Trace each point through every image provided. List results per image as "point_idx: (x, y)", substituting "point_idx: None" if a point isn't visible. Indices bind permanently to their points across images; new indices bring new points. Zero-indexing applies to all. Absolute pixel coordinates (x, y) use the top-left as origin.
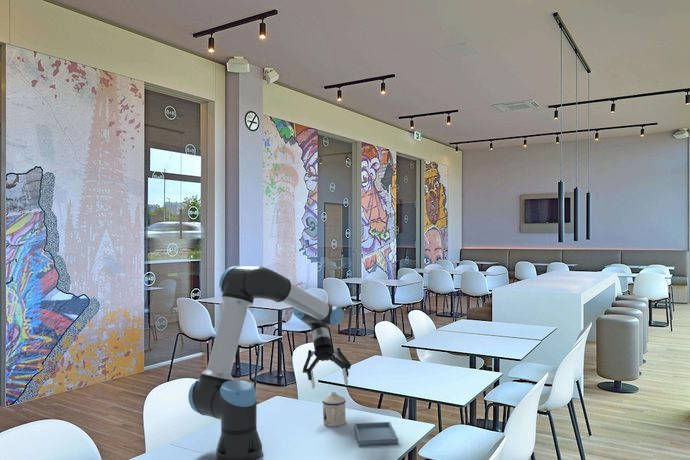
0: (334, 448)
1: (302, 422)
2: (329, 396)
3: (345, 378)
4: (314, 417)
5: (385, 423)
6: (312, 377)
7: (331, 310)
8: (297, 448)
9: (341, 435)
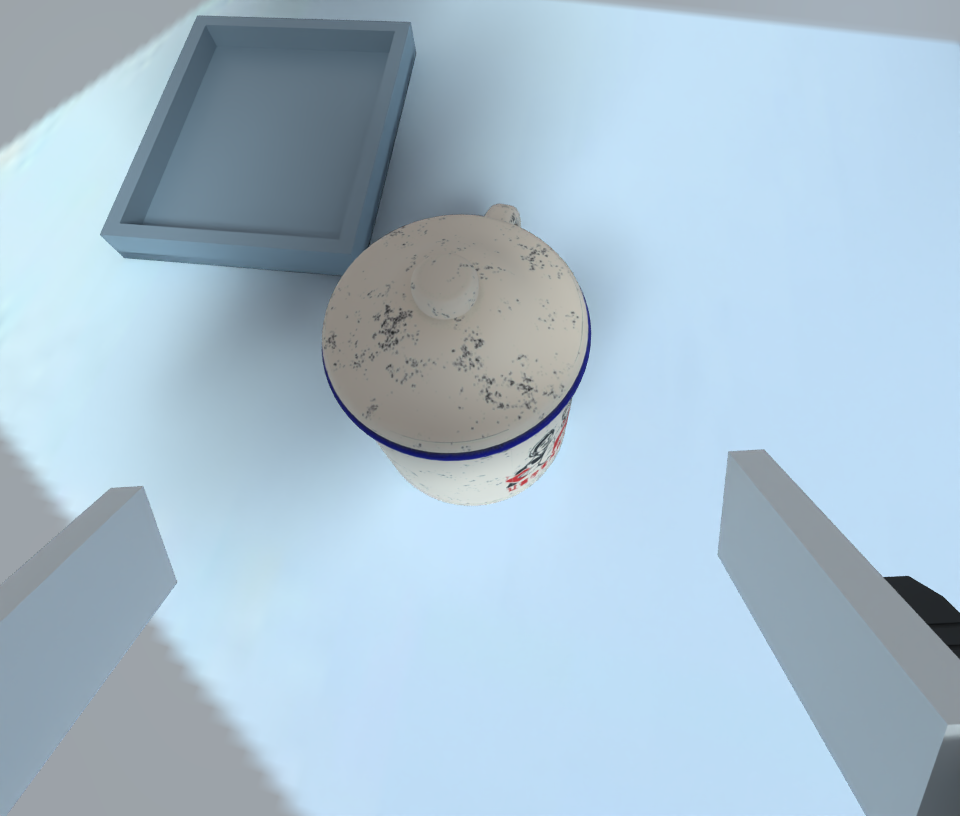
0: (549, 52)
1: None
2: (508, 287)
3: (97, 532)
4: (632, 595)
5: (141, 228)
6: (842, 547)
7: None
8: (763, 79)
9: (473, 194)
